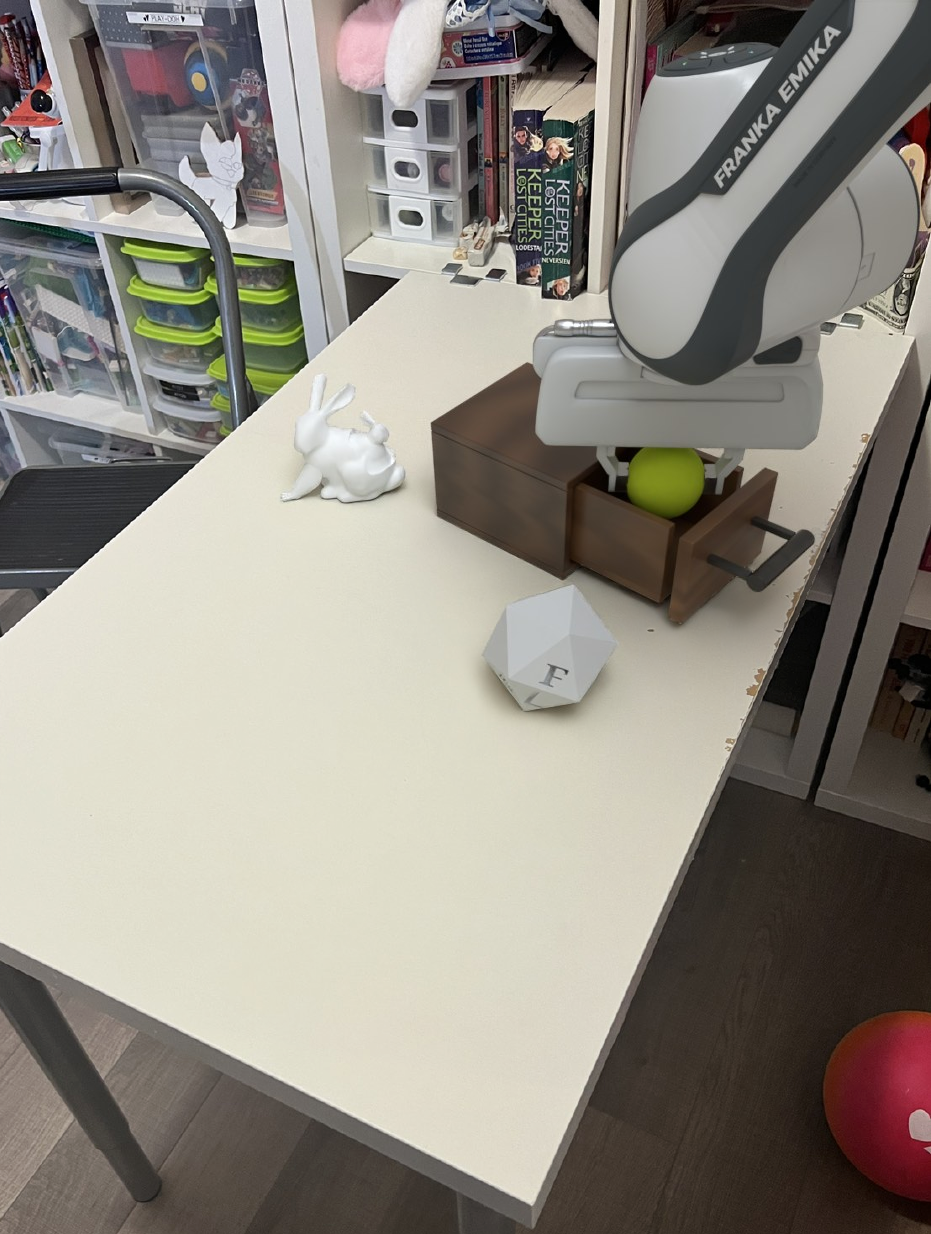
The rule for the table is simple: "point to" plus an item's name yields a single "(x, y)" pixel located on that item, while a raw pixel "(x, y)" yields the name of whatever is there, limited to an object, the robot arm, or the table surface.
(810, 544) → the drawer
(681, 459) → the ball
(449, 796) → the table surface
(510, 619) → the die
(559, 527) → the cabinet
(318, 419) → the rabbit figurine
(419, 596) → the table surface
